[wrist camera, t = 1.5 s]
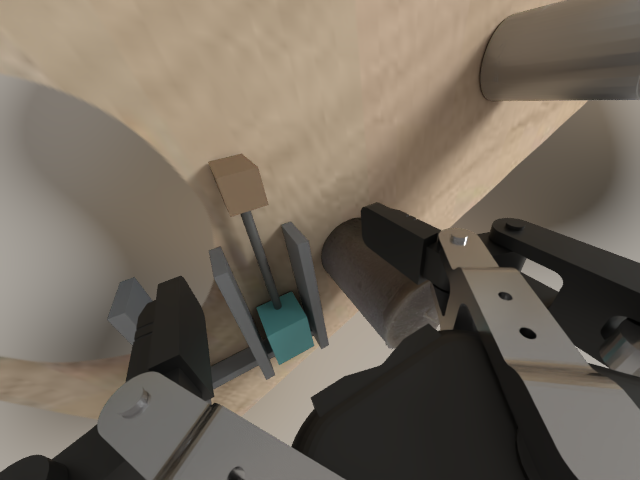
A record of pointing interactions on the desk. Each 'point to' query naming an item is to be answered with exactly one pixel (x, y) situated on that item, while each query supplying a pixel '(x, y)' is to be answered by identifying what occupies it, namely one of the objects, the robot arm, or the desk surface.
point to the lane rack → (235, 309)
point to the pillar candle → (377, 286)
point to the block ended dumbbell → (262, 257)
